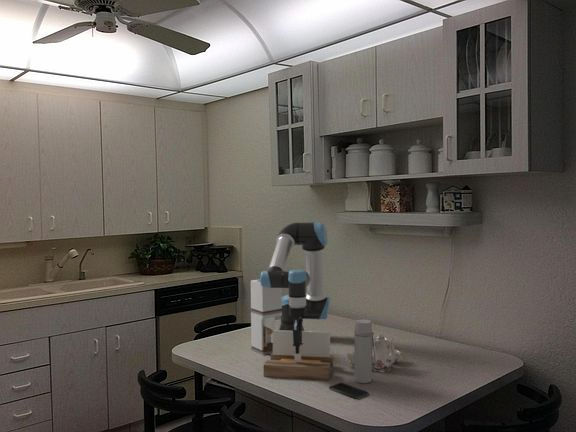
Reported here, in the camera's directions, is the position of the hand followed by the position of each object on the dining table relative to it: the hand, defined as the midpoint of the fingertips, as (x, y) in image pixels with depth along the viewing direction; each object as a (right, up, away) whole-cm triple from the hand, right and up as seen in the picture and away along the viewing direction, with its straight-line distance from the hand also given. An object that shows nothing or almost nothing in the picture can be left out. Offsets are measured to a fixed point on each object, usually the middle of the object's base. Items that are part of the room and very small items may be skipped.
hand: (297, 360), depth 222 cm
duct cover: (+2, +5, +8) cm, 10 cm away
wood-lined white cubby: (-15, -5, +35) cm, 38 cm away
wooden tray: (+1, -6, +4) cm, 7 cm away
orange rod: (+1, -5, +7) cm, 8 cm away
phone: (+20, -7, -21) cm, 29 cm away
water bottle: (+28, -6, -9) cm, 30 cm away
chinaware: (+36, -6, +8) cm, 37 cm away
